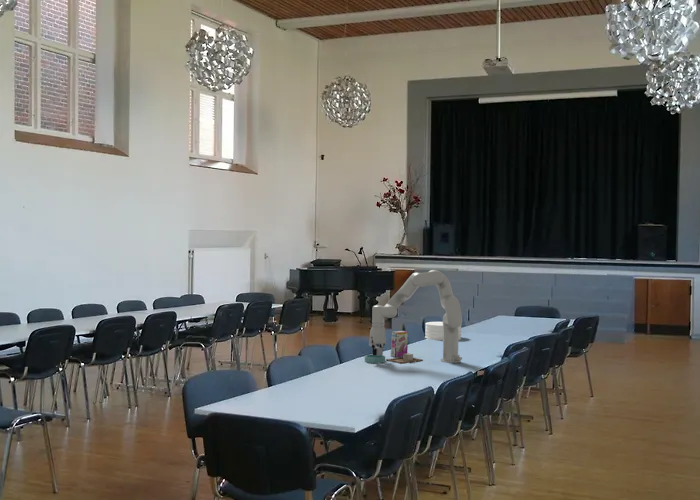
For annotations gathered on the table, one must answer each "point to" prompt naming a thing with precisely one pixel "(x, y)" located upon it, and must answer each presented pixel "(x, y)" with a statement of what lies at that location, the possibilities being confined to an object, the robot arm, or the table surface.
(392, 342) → the candy bar box
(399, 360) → the tray
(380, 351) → the light grey cube
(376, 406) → the table surface
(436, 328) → the plate stack
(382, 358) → the bowl
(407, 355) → the beige square block
